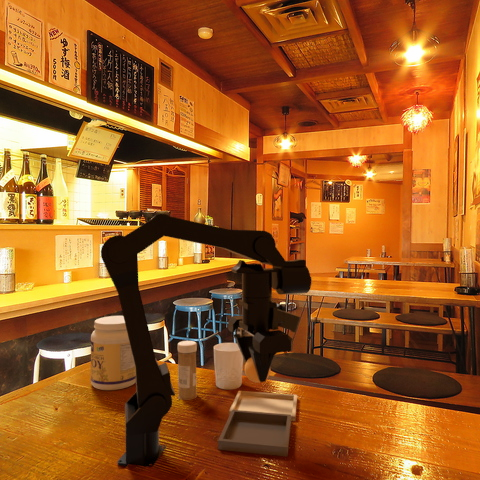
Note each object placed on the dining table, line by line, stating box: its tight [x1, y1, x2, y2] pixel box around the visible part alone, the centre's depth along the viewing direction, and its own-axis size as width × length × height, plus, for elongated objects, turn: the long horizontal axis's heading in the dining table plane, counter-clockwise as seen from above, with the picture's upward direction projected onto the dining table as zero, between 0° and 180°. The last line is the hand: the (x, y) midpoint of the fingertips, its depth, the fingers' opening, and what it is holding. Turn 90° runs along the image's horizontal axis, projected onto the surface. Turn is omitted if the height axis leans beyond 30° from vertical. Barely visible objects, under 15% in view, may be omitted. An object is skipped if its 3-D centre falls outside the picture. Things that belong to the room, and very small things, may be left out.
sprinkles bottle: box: [177, 340, 198, 401], centre depth 92 cm, size 5×5×14 cm
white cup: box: [213, 342, 244, 390], centre depth 101 cm, size 8×8×10 cm
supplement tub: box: [90, 315, 136, 391], centre depth 102 cm, size 12×12×17 cm
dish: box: [217, 410, 292, 457], centre depth 74 cm, size 12×12×2 cm
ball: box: [244, 357, 271, 384], centre depth 74 cm, size 5×5×5 cm
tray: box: [228, 390, 298, 422], centre depth 86 cm, size 11×14×2 cm
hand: (257, 376), depth 74 cm, fingers closed on ball, 5 cm apart
